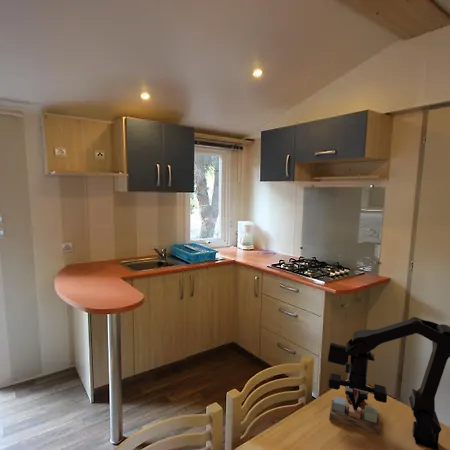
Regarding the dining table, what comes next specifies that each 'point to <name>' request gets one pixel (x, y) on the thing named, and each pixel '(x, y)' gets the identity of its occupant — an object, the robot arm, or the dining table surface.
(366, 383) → the soda can
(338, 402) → the button slate
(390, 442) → the dining table surface
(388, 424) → the dining table surface
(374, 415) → the button sage
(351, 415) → the button terracotta
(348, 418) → the brown wooden compartment tray
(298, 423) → the dining table surface
